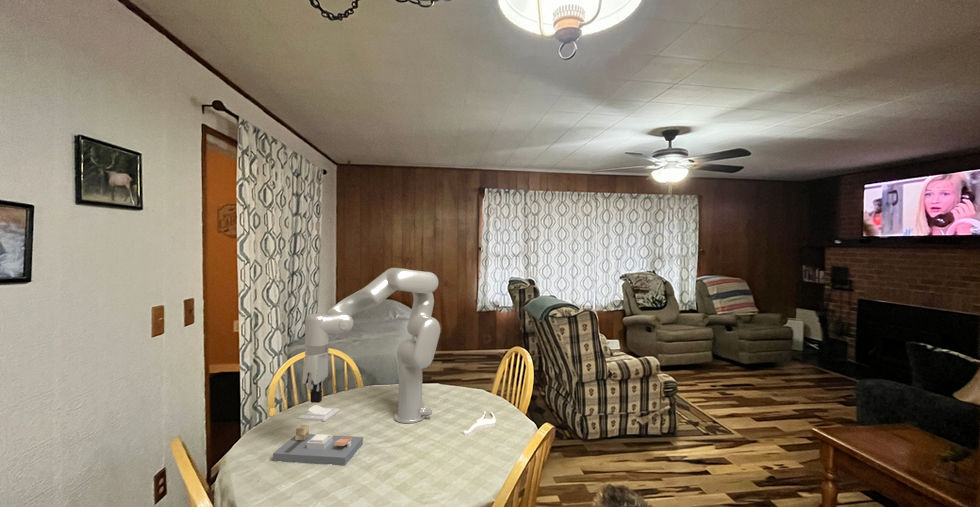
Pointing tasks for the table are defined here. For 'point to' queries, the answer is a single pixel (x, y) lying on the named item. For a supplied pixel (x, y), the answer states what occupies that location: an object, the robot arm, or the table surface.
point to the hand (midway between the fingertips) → (316, 401)
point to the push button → (320, 438)
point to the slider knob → (302, 432)
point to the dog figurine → (481, 424)
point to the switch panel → (318, 450)
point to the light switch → (319, 413)
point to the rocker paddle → (343, 441)
